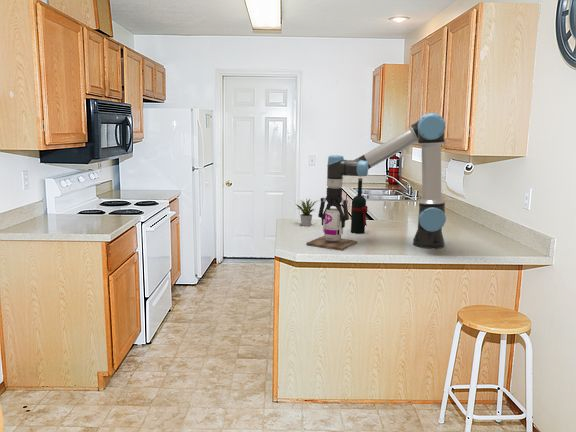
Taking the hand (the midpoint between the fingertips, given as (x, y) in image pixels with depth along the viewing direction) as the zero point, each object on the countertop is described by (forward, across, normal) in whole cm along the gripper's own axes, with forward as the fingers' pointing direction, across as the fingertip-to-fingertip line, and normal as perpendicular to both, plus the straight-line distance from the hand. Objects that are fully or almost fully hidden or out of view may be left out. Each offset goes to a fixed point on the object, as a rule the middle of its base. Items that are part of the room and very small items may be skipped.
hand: (332, 232), depth 254 cm
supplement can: (+3, 0, 0) cm, 3 cm away
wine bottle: (+6, +1, +33) cm, 34 cm away
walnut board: (+6, 0, 0) cm, 6 cm away
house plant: (+6, -32, +35) cm, 48 cm away
